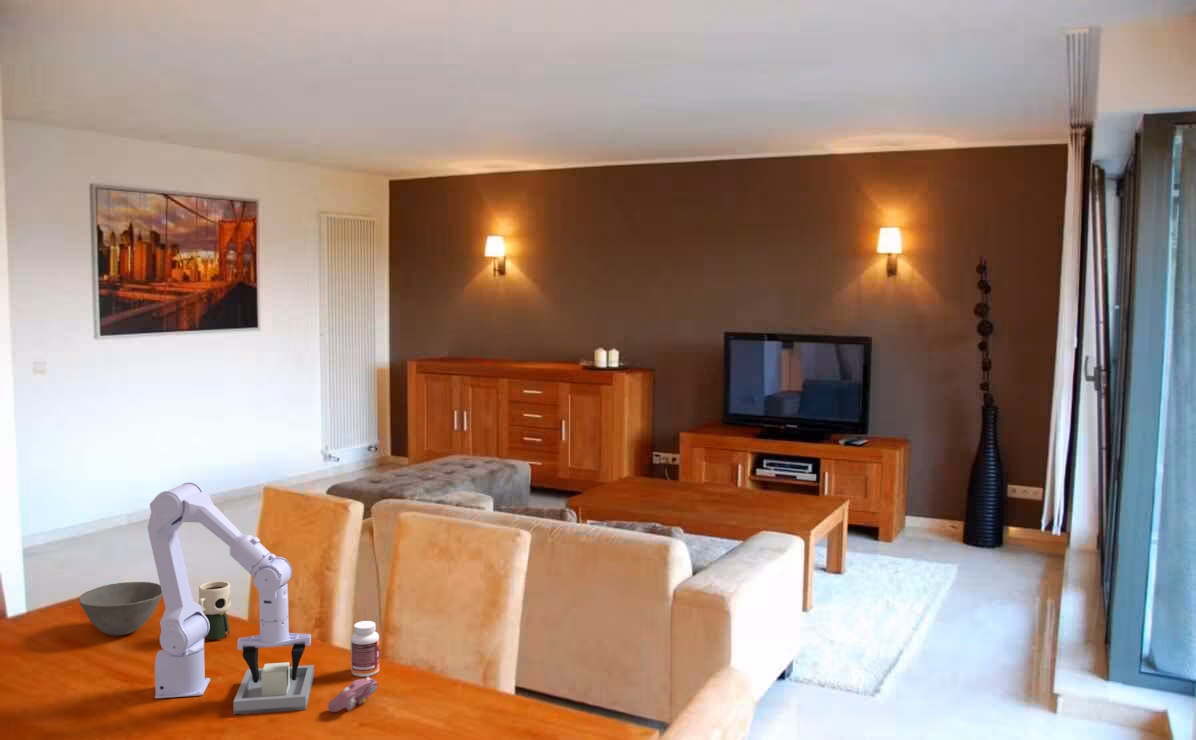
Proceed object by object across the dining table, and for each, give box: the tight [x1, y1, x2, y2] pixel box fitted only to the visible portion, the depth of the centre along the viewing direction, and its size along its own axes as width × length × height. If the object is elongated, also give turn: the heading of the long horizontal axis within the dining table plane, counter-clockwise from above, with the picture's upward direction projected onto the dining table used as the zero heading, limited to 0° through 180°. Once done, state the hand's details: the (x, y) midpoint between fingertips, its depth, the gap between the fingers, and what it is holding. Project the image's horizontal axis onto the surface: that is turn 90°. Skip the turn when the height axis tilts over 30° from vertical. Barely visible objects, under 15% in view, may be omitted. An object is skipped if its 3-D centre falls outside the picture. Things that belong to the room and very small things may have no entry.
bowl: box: [78, 581, 163, 637], centre depth 232 cm, size 19×19×10 cm
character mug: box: [198, 580, 232, 640], centre depth 229 cm, size 11×7×13 cm, turn 164°
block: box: [261, 661, 291, 696], centre depth 198 cm, size 5×5×5 cm
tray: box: [233, 664, 315, 716], centre depth 198 cm, size 14×16×3 cm
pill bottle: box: [350, 620, 380, 678], centre depth 210 cm, size 6×6×11 cm
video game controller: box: [327, 676, 379, 713], centre depth 193 cm, size 10×5×7 cm, turn 149°
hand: (275, 679), depth 198 cm, fingers open, 7 cm apart
